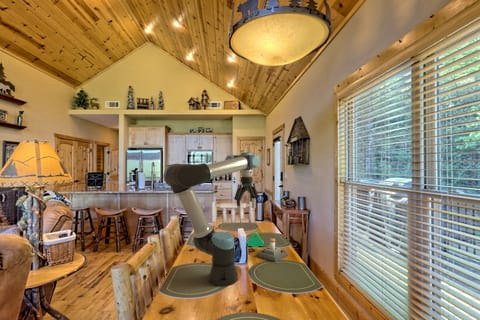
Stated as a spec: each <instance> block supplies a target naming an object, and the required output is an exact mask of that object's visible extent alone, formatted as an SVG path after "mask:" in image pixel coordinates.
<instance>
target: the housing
mask: <svg viewBox="0 0 480 320" xmlns="http://www.w3.org/2000/svg"><path fill="white" fill-rule="evenodd" d="M256 257H257V258H260V259H264V260H267V261H270V262H273V263H277V262H279V261H280V260H283V258H286V257H288V250H285V249H281V247H278V246H275V250H270V249H269V246H267V247H265V248H263V249H261V250H258V251H257V252H256Z"/></svg>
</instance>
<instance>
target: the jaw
mask: <svg viewBox="0 0 480 320" xmlns="http://www.w3.org/2000/svg"><path fill="white" fill-rule="evenodd" d="M268 247H269V249H270V250H275V247H276V238H272V237H271V238H269V246H268Z"/></svg>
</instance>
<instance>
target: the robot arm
mask: <svg viewBox="0 0 480 320" xmlns="http://www.w3.org/2000/svg"><path fill="white" fill-rule="evenodd" d="M259 166H260V158H259V156H258V155H257V154H253V152H240V154H237V155H235V154H229V155H227V156H226V157H225V159H224V160H221V161H217V162H212V163H208V164H207V163H197V164H196V163H195V164H194V163H193V164H192V163H173V164H170V165H168V166H167V167H166V168H165V170H164V171H163V181H164V183H165V184H166V185H167V186H169V187H170V188H171V190H172V193H173V194H175V195H177V196H178V198H179V200H180V203H181V205H182V207H183V209H184V212H185V214H186V215H187V218H188V220H189V222H190V224H191V227H192V228H193V233H192V236H193V241H192V242H193V243H192V244H193V245H194V247H195V248H196V249H197V250H198V251H200V252H202V253H204V254H207V255H209V256H211V262H212V263H211V268H210V272H209V275H208V282H209V281H210V282H209V283H210V284H212V285H213V286H217V287H218V286H220V287H227V286H231V285H233V284H235V283H237V282H238V280H239V275H238V272H237V269H236V268H237V267H236V264H235V237H234V235H233V234H232V233H229V232H228V231H227V232H226V231H217V232H216V231H215V228H214V226H213V225H212V224H209V222H208V220H207V217H206V214H205V213H204V210H203V207H202V206H201V203H200V201H199V199H198V196H197V194H196V192H195V189H194V187H197V186H199V185H203V184H205V183H209V182H210V181H211V180H212V179H216V178H219V177H222V176H227V175H229V174H232V173H233V174H234V173H236V172H239V171H240V176H241V177H240V183H241V184H239V183H238V184H237V189H236V192H235V195H234V197H233V199H234V200H235V201H236V206H237V208H236V209H237V212H242V198H243V197H244V194H245V192H248V193H249V194H250V196H251V209H256V203H257V200H256V199H258V197H259V193H258V191H257V189H256V183H254V182H253V169H256V168H258V167H259Z"/></svg>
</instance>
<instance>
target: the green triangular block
mask: <svg viewBox="0 0 480 320" xmlns="http://www.w3.org/2000/svg"><path fill="white" fill-rule="evenodd" d="M247 244H248V246H247V247H251V248H260V247H264V245H265V242H264V240H263V239H262V238H261V237H260V235H259V233H258V232H257V231H253V232H252V234H251V235H250V237H249V239H248V240H247V241H246V245H247Z"/></svg>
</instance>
